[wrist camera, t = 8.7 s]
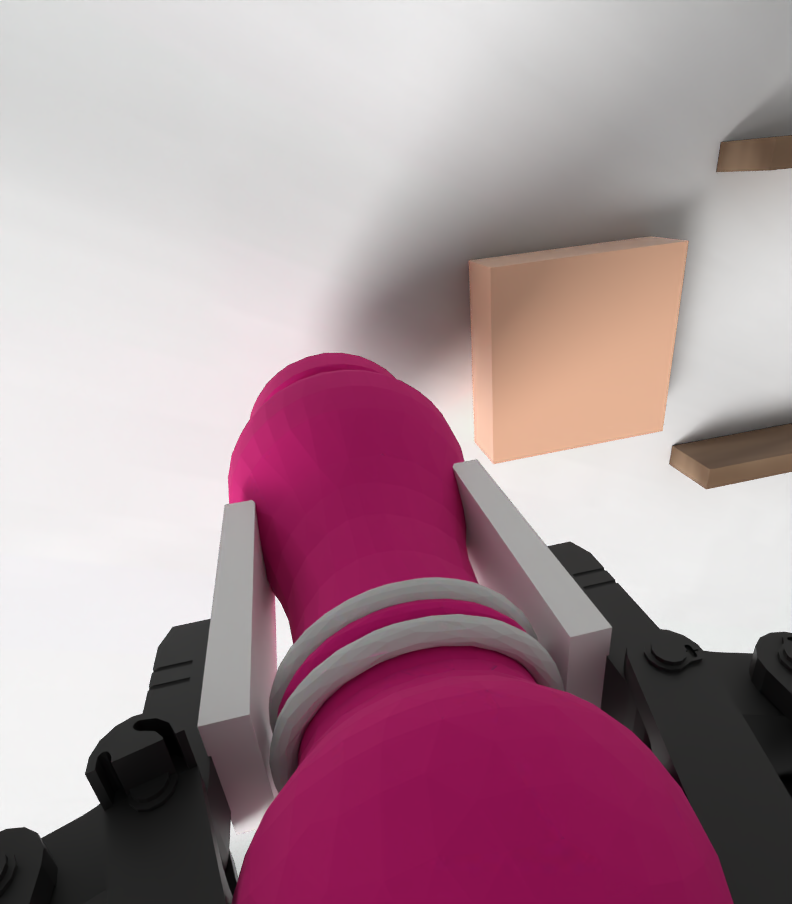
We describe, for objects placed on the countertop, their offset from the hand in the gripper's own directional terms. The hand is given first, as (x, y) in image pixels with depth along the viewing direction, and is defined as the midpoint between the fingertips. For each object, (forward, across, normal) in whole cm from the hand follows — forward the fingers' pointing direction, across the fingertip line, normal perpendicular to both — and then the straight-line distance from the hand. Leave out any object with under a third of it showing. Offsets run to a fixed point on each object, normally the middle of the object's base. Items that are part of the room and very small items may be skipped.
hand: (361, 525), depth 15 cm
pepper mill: (+7, 0, 0) cm, 7 cm away
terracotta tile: (+12, +12, 0) cm, 17 cm away
